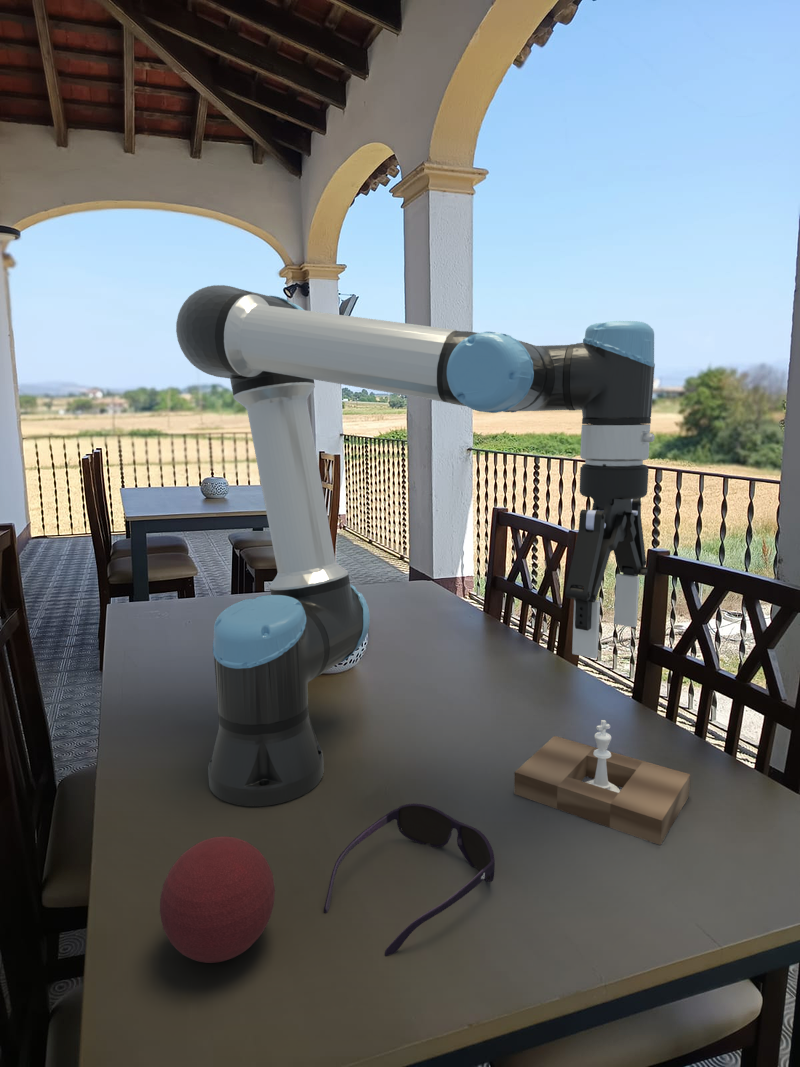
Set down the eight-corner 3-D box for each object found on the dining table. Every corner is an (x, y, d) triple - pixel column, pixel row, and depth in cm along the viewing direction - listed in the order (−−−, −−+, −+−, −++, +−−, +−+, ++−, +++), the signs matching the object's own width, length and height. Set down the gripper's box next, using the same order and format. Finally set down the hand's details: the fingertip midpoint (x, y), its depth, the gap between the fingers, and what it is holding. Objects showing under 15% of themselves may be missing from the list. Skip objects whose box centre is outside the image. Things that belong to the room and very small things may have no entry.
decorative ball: (152, 933, 64) (144, 836, 62) (255, 893, 69) (250, 803, 67) (180, 1011, 55) (171, 901, 54) (294, 959, 61) (289, 857, 59)
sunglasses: (509, 882, 71) (510, 839, 70) (411, 977, 59) (410, 926, 58) (409, 832, 79) (409, 792, 79) (306, 905, 68) (304, 860, 67)
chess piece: (572, 789, 87) (574, 715, 86) (604, 781, 89) (607, 709, 87) (596, 809, 83) (599, 732, 81) (629, 801, 84) (633, 725, 83)
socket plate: (660, 845, 76) (661, 820, 75) (514, 793, 86) (514, 772, 86) (688, 796, 85) (690, 774, 85) (553, 755, 96) (554, 735, 95)
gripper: (607, 471, 67) (598, 678, 70) (678, 457, 86) (668, 619, 90) (536, 468, 71) (532, 663, 75) (619, 455, 91) (612, 609, 94)
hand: (606, 639), depth 82 cm, fingers open, 13 cm apart
